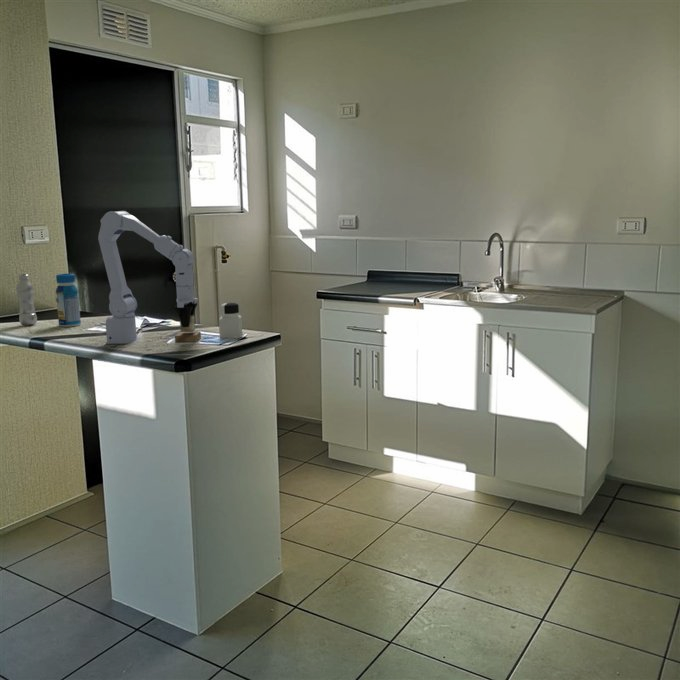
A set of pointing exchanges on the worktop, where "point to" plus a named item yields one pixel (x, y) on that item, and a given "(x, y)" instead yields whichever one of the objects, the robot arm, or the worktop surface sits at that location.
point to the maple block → (191, 325)
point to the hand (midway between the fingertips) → (187, 325)
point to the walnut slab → (187, 337)
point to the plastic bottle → (26, 301)
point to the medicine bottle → (230, 321)
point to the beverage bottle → (67, 301)
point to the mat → (186, 343)
